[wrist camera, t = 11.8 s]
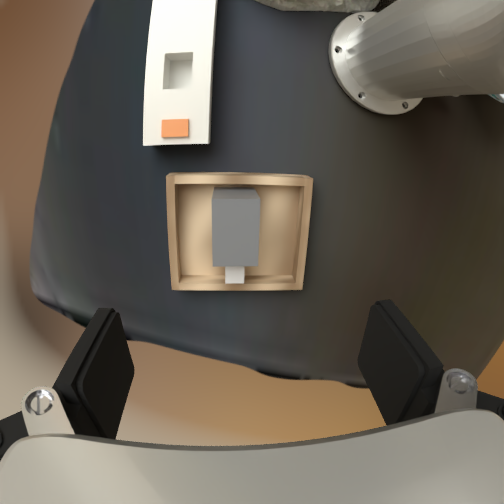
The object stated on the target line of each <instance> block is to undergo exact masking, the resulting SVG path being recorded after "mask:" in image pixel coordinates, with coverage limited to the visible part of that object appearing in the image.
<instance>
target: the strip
mask: <svg viewBox="0 0 504 504" xmlns="http://www.w3.org/2000/svg"><path fill="white" fill-rule="evenodd" d="M217 3H218V0H153V5H152V12H151V20H150V28H149V38H148V48H147V60H146V73H145V91H144V119H143V146H147V145H170V144H209V143H210V135H211V104H212V81H213V62H214V45H215V30H216V16H217Z"/></svg>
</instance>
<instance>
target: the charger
mask: <svg viewBox="0 0 504 504" xmlns="http://www.w3.org/2000/svg"><path fill="white" fill-rule="evenodd" d="M259 228H260V197H259V196H258V194H257V192H256V190H255V188H254V187H214V190H213V195H212V260H213V267H225V284H232V283H244V266H258V256H259Z"/></svg>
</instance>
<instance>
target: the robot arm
mask: <svg viewBox="0 0 504 504" xmlns="http://www.w3.org/2000/svg"><path fill="white" fill-rule="evenodd" d="M335 50H337V52H338V53H336V52H335ZM328 54H329V61H330V65H331V68H332V71H333V74H334V76H335V78H336V80H337V82H338V83H339V85H340V86H341V87H342V89H343V90H344V92H345V93H346V94H347V95H348V96H349V97H350V98H351V99H352V100H353V101H355V102H356V103H358V104H359V105H360V106H362V107H364V108H366V109H368V110H370V111H372V112H375V113H379V114H386V115H396V114H401V113H406V112H408V111H410V110H412V109H413V108H415V107H416V106H417V105H418V104H419V103H420V102H421V100H422V99H423V98H425V97H437V96H454V97H458V96H459V95H473V94H504V0H397V1H395V2H394V3H392V4H391V5H389V6H388V7H386V8H385V9H383V10H382V11H380V12H379V13H377V12H367V11H364V12H358V13H355V14H352V15H350V16H348V17H346V18H345V19H344V20H342V21H341V22H340V23H339V24H338V25H337V26H336V28H335V29H334V31H333V33H332V35H331V38H330V42H329V51H328ZM358 94H359V95H360V98H359V97H358ZM402 105H403V107H402ZM358 366H359V368H360V370H361V372H362V374H363V377H364V379H365V381H366V383H367V385H368V387H369V389H370V391H371V393H372V395H373V397H374V399H375V401H376V404H377V406H378V408H379V410H380V412H381V414H382V416H383V419H384V421H385V423H386V425H387V426H383V427H379V428H374V429H370V430H365V431H361V432H356V433H350V434H345V435H340V436H333V437H327V438H321V439H313V440H305V441H297V442H288V443H278V444H264V445H246V446H184V445H165V444H153V443H142V442H132V441H122V440H115V439H116V435H117V431H118V427H119V424H120V420H121V417H122V413H123V410H124V406H125V403H126V400H127V396H128V393H129V390H130V386H131V383H132V380H133V377H134V365H133V362H132V359H131V355H130V352H129V348H128V344H127V341H126V337H125V333H124V329H123V326H122V322H121V318H120V314H119V313H118V312H115V310H114V309H113V308H98V310H97V311H96V313H95V314H94V316H93V318H92V319H91V321H90V322H89V324H88V326H87V327H86V329H85V331H84V332H83V334H82V336H81V337H80V339H79V341H78V342H77V344H76V346H75V347H74V349H73V351H72V353H71V354H70V356H69V358H68V360H67V361H66V363H65V365H64V367H63V369H62V370H61V372H60V374H59V376H58V378H57V380H56V382H55V383H54V385H53V387H52V388H50V387H47V386H41V387H36V388H34V389H32V390H30V391H29V392H27V393H26V394H25V396H24V397H23V399H22V402H21V409H22V411H20V412H18V413H16V414H14V415H11V416H9V417H7V418H5V419H2V420H0V504H504V399H502V398H499V397H495V396H492V395H490V394H487V393H484V392H481V391H478V390H477V388H478V386H477V382H476V380H475V378H474V377H473V376H472V375H471V374H470V373H468V372H467V371H465V370H462V369H450V370H448V371H446V372H444V370H443V369H442V368H443V366H444V365H443V364H442V363H441V361H440V360H439V359H438V358H437V356H436V355H435V354H434V352H433V351H432V350H431V348H430V347H429V346H428V345H427V343H426V342H425V341H424V339H423V338H422V337H421V336H420V334H419V333H418V332H417V331H416V329H415V328H414V327H413V326H412V324H411V323H410V322H409V321H408V320H407V318H406V317H405V316H404V315H403V313H402V312H401V311H400V310H399V309H398V307H397V306H396V305H395V304H394V303H393V301H391V300H381V301H376V302H375V304H374V305H372V306H371V308H370V313H369V317H368V321H367V325H366V330H365V334H364V338H363V341H362V345H361V349H360V353H359V356H358Z"/></svg>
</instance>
